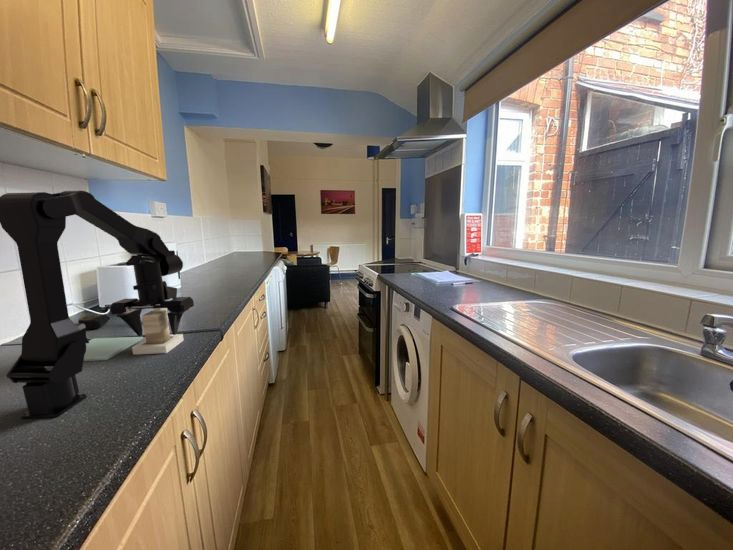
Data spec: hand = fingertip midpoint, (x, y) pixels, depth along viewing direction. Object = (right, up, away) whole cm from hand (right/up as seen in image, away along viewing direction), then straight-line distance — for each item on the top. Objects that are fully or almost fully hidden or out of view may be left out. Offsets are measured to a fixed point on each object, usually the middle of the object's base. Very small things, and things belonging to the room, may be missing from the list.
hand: (157, 335), depth 83 cm
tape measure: (-33, -1, +18) cm, 38 cm away
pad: (-16, -4, 0) cm, 16 cm away
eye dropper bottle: (-14, 0, +23) cm, 27 cm away
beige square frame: (0, -3, +1) cm, 4 cm away
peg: (0, -4, +1) cm, 4 cm away
